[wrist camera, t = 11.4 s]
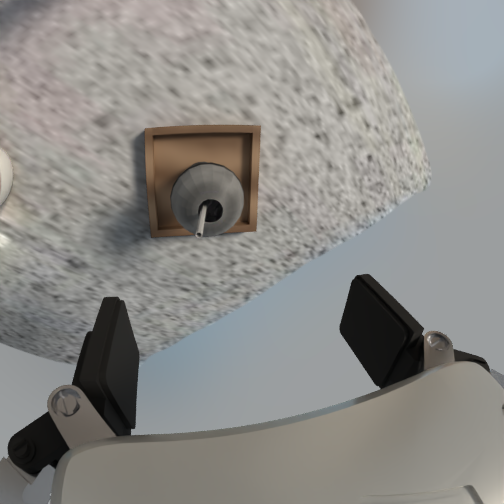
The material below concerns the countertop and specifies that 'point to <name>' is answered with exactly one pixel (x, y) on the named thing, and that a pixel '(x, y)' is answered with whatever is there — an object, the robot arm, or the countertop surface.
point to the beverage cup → (207, 199)
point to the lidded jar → (5, 175)
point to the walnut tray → (190, 152)
